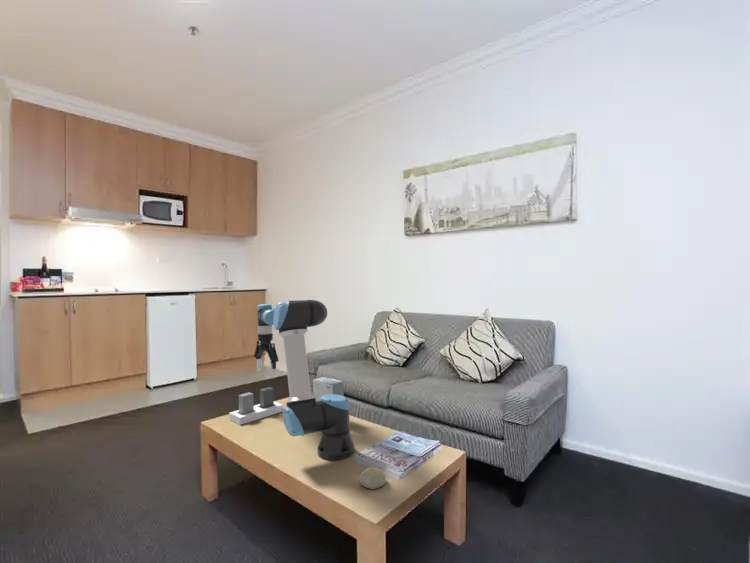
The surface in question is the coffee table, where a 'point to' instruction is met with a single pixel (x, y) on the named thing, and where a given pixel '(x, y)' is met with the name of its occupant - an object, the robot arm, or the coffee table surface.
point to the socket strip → (255, 414)
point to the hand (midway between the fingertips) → (266, 372)
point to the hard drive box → (327, 387)
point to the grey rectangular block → (266, 397)
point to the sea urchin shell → (372, 478)
